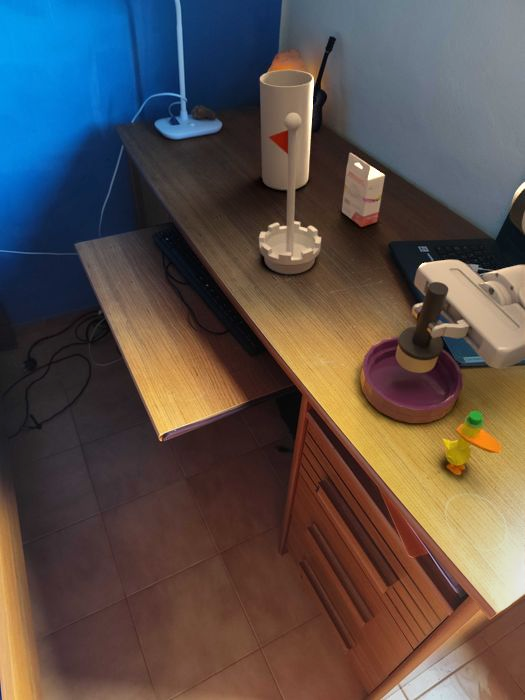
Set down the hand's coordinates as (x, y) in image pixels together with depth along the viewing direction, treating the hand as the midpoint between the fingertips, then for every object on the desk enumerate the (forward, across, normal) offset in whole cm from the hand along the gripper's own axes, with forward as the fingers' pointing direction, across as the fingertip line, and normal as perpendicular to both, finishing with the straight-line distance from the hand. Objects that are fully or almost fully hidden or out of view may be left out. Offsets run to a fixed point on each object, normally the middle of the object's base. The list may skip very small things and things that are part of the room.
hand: (422, 321), depth 65 cm
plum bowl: (-1, 0, +15) cm, 15 cm away
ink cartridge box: (-18, -50, +15) cm, 55 cm away
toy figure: (0, +16, +15) cm, 22 cm away
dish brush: (-1, 0, +8) cm, 8 cm away
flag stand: (+4, -40, +15) cm, 43 cm away
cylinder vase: (-8, -74, +15) cm, 76 cm away
